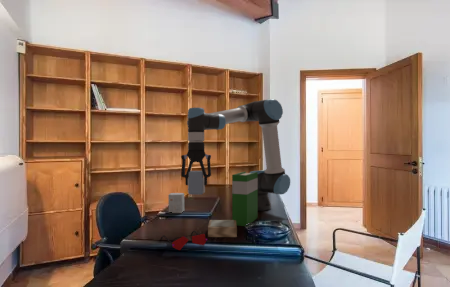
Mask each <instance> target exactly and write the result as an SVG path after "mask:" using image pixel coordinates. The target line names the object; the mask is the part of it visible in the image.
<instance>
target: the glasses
mask: <svg viewBox="0 0 450 287" xmlns="http://www.w3.org/2000/svg"><path fill="white" fill-rule="evenodd" d="M194 233H196V234H194ZM190 234H191V235H183V236H178V237H175V238H174V239H173V240H172V241H171V240H170V239H168V238H167V237H166V235H162V236H161V237H160V240H162V239H163V238H165V239H166V241H168V243H169V244H171V245H172V248H174V249H175V250H178V251H181V250H182V248H184V246H185V245H186V246H187V244H188V242H189V239H188V238H187V237H191V241H190V242H191V243H192V244H196V245H200V246H205V244H206V242H207V241H208V238H207V237H206V235H205V233H199V232H197V231H196V230H193V231H191V233H190Z"/></svg>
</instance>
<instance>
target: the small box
mask: <svg viewBox="0 0 450 287" xmlns="http://www.w3.org/2000/svg"><path fill="white" fill-rule="evenodd" d="M167 196H168V197H167V198H168V213H169V212H172V213H171V214H183V213H184V212H185V193H184V192H171V193H168V195H167ZM183 211H184V212H183ZM182 212H183V213H182Z"/></svg>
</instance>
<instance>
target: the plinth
mask: <svg viewBox="0 0 450 287" xmlns="http://www.w3.org/2000/svg"><path fill="white" fill-rule="evenodd" d="M237 226H238V225H236V220H232V219H209V222H208V225H207V238H237V237H238V236H237V234H238V227H237Z"/></svg>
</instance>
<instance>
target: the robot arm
mask: <svg viewBox="0 0 450 287" xmlns="http://www.w3.org/2000/svg"><path fill="white" fill-rule="evenodd" d="M283 114H284V111H283V106H282V104H281V103H280V102H279V101H278V100H277V99H273V98H270V99H269V98H267V99H263V100H255V101H251V102H249V103H245V104H243V105H238V106H237V107H235V108H230V109H226V110H220V111H213V112H207V113H206V112H205V109H204V108H203V107H190V108H189V109H188V110H187V122H186V125H187V141H188V143H187V152H186V154H182V155H181V156H180V157H181V174H180V175H181V176H180V177H182V178H184V179H185V180H184V181H185V183H184V184H185V186H187V193H188V194H189V172H190V171H192V167H193V164H194V163H199V166H200V169H201V171H202V172H203V177H204V178H203V194H204V193H206V186H207V185H208V178H210V177H211V176H212V167H211V158H212V155H211V154H207V153H206V152H205V131H208V130H209V131H211V130H216V131H218V130H223V129H224V128H225V127H226V125H228V124H233V123H237V122H241V123H245V122H258V126H259V127H261V132H262V139H263V140H262V141H263V147H264V158H265V165H266V169H264V170H263V169H262V170H261V169H260V170H253V171H249V173H254V172H258V211H260V212H261V211H270V210H271V209H272V203H271V201H270V197H269V193H270V194H273V195H284V194H286V193H287V192H288V191H289V189H290V186H291V178H290V176H289V175H288V174H287V173H286V170H285V168H284V167H282V166H283V165H282V159H281V150H280V139H279V131H278V125H279V123H280V119H282V117H283ZM187 158H188V159H189V162H188V163H189V164H188V166H187V167H188V168H187V171H186V159H187ZM204 158H205V159H206V161H207V162H206V163H207V164H206V166H207V171H206V168H205V164H204V162H203V160H204Z"/></svg>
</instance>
